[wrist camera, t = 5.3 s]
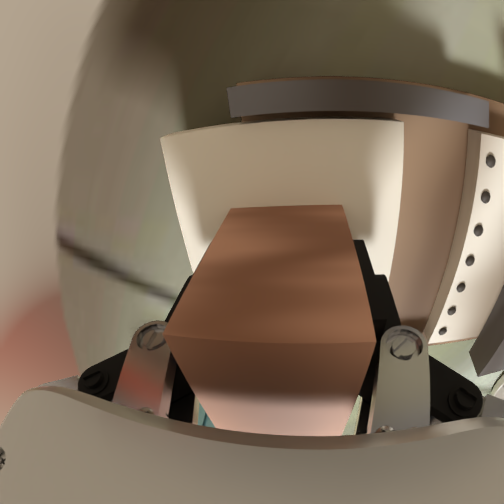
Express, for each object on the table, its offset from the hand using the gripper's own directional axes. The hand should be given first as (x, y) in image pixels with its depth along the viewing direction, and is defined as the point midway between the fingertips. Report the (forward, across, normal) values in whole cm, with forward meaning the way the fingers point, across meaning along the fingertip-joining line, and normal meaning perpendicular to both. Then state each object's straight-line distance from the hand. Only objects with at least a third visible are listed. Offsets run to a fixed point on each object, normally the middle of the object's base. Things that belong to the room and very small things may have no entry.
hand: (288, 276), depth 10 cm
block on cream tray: (+2, 0, 0) cm, 2 cm away
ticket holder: (+3, -8, 0) cm, 8 cm away
